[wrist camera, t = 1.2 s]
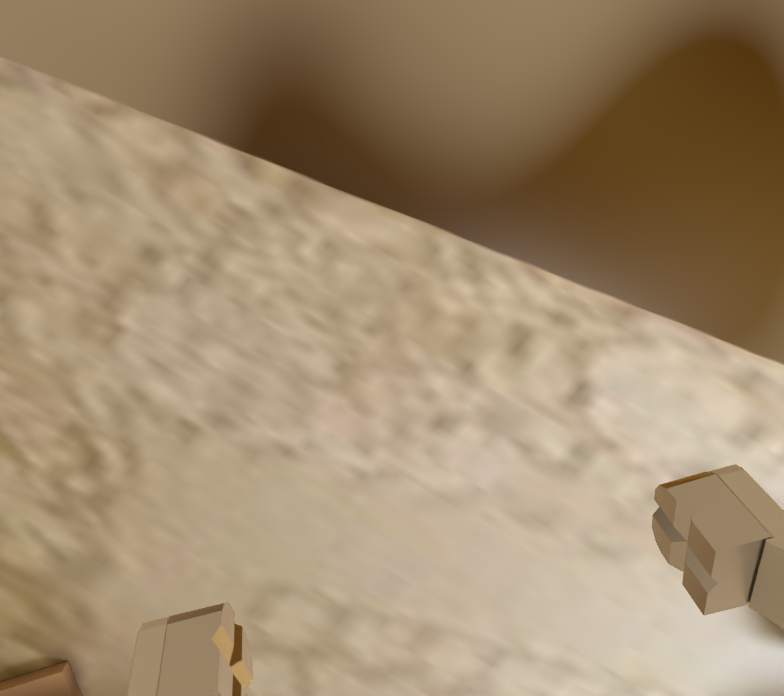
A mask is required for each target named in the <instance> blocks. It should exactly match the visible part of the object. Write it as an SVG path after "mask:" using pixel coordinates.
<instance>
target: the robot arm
mask: <svg viewBox="0 0 784 696" xmlns="http://www.w3.org/2000/svg"><path fill="white" fill-rule="evenodd" d="M654 499H655V501H656V502H657V504H658V505H659V506H660V507H659V508H658V509H657V511H656V512H655V513H654V514H653V519H652V529H653V532H654V536H655V540H656V543H657V545H658V547H659V549H660V551H661V553H662V554H663V556H664V557H665V559H666V561H667V562H668V564H670V565H672V566H674V567H676V568H677V569H679V570H681V571H683V583H682V584H683V586H684V587H685V589H686V590H687V592H688V593H689V595H690V596H691V598H692V599H693V600H694V602H695V603H696V605H697V606H698V608H699V609H700V611H701V612H702V614H703V615H708V614H712V613H716V612H720V611H724V610H728V609H732V608H735V607H739V606H743V605H747V604H749V607H750V608H751V609H753V610H755V611H756V612H758V613H759V614H761V615H762V616H764V617H765V618H767V619H768V620H770V621H771V622H773V623H775V624H776V625H778V626H779V627H781V628H782V629H784V511H783V510H782V509H781V508H780V507H779V505H778V504H777V503H776V502H775V501H774V500H773V499H772V498H771V497H770V496H769V495H768V494H767V493H766V492H765V491H764V490H763V489H762V488H761V487H760V486H759V485H758V484H757V483H756V482H755V480H754V479H753V478H752V477H751V476H750V475H749V474H748V473H747V472H746V471H745V470H744V469H743V468H742V467H740V466H738V465H731V466H727V467H724V468H720V469H716V470H713V471H710V472H703V473H699V474H696V475H692V476H689V477H685V478H682V479H678V480H675V481H671V482H668V483H664V484H661V485H659V486H658V487H657V488H656V490H655V497H654ZM234 622H235V612H234V610H233V609H232V607H231V605H230V604H229V602H226V603H222V604H218V605H214V606H210V607H206V608H202V609H198V610H194V611H190V612H186V613H181V614H177V615H173V616H169V617H165V618H161V619H157V620H154V621H150V622H146V623H143V624H142V626H141V628H140V630H139V632H138V634H137V639H136V645H135V651H134V656H133V662H132V667H131V673H130V679H129V684H128V690H127V696H247V694H246V692H245V691H246V689H247V688H248V686H249V684H250V683H251V681H252V679H253V677H252V657H251V650H250V644H249V641H248V638H247V635H246V633H245V631H244V629H243V627H242V626H239V625H237V624H235V623H234Z"/></svg>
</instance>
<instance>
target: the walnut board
mask: <svg viewBox="0 0 784 696" xmlns="http://www.w3.org/2000/svg"><path fill="white" fill-rule="evenodd" d="M0 696H82V694H81V691H80V689H79V686H78V684H77V682H76V679H75V677H74V674H73V672H72V669H71V667H70V665H69V662H68V661H66V662H63V663H60V664H56V665H53V666H50V667H47V668H43V669H40V670H37V671H34V672H31V673H27V674H24V675H21V676H18V677H14V678H11V679H8V680H5V681H2V682H0Z"/></svg>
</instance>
